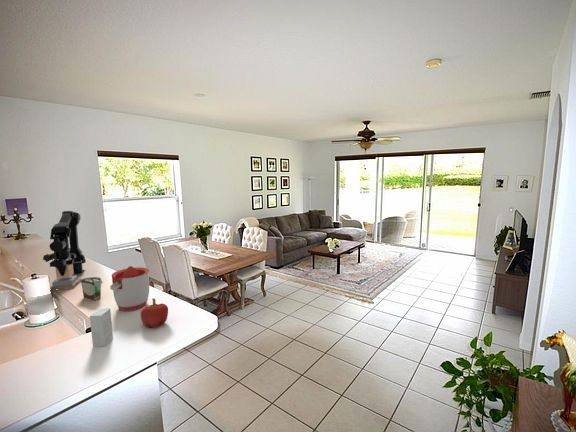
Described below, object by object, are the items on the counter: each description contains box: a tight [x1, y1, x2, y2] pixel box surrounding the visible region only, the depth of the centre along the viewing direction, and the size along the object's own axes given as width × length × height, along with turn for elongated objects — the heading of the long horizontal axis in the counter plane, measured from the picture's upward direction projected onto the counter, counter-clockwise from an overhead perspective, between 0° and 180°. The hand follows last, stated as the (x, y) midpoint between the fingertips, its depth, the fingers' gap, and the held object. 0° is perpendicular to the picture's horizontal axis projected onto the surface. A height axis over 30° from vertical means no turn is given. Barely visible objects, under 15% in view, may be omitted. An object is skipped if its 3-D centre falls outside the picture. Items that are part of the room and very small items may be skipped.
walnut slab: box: [50, 278, 82, 291], centre depth 159 cm, size 11×11×2 cm
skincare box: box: [89, 307, 114, 347], centre depth 103 cm, size 6×4×12 cm
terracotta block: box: [55, 264, 75, 279], centre depth 158 cm, size 6×6×6 cm
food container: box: [80, 276, 103, 302], centre depth 143 cm, size 12×6×10 cm, turn 65°
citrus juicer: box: [110, 265, 150, 312], centre depth 132 cm, size 16×17×20 cm
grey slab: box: [51, 274, 78, 287], centre depth 158 cm, size 9×9×2 cm
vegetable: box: [140, 298, 169, 328], centre depth 116 cm, size 11×10×10 cm
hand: (65, 274), depth 158 cm, fingers closed on terracotta block, 6 cm apart
